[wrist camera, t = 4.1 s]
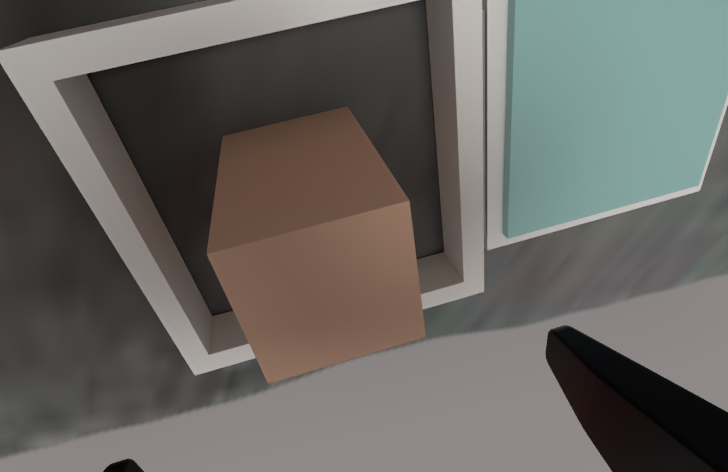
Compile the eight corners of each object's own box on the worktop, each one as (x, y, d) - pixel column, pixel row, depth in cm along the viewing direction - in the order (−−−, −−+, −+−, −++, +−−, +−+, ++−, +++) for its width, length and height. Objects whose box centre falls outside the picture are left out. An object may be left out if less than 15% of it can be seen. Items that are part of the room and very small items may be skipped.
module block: (263, 244, 20) (271, 389, 13) (222, 136, 17) (206, 254, 10) (368, 216, 20) (426, 343, 14) (347, 106, 17) (409, 200, 11)
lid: (464, 246, 22) (474, 260, 21) (453, -19, 15) (469, -17, 14) (687, 184, 24) (708, 195, 22) (769, -88, 17) (804, -91, 16)
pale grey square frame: (205, 346, 22) (201, 386, 20) (31, 36, 14) (-7, 52, 12) (463, 273, 23) (484, 303, 21) (449, -52, 15) (481, -52, 13)
